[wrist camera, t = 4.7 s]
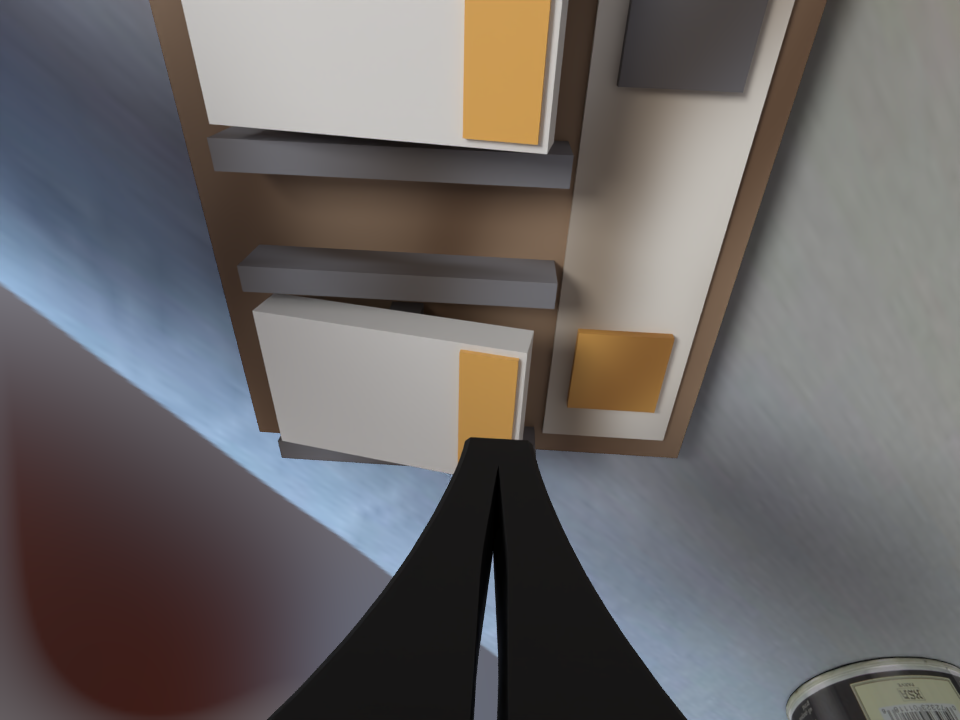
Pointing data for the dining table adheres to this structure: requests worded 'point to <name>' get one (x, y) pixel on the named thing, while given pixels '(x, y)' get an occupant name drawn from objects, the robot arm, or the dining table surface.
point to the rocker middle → (384, 68)
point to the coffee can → (880, 692)
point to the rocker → (391, 379)
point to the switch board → (531, 214)
